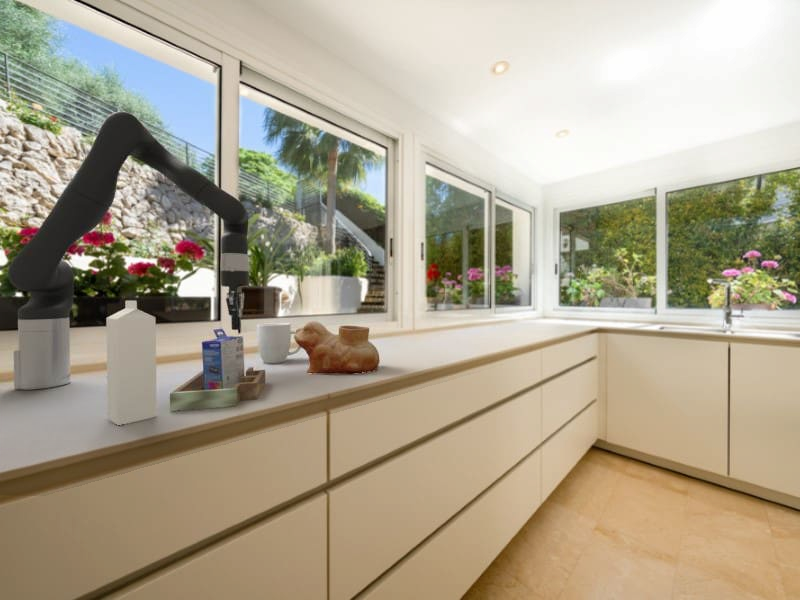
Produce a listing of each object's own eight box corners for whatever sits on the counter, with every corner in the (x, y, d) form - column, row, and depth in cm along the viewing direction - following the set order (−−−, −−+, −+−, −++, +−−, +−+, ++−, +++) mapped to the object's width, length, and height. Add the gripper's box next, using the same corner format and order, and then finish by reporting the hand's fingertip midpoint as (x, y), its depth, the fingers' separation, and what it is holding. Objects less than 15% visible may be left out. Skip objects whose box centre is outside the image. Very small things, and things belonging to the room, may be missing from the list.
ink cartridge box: (226, 381, 93) (225, 327, 93) (245, 381, 93) (245, 327, 92) (201, 391, 83) (200, 331, 83) (223, 392, 83) (222, 331, 82)
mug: (301, 357, 129) (300, 322, 129) (303, 362, 119) (303, 324, 118) (257, 360, 124) (257, 323, 124) (256, 366, 113) (256, 325, 113)
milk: (145, 411, 69) (144, 300, 69) (157, 417, 66) (156, 300, 66) (106, 419, 65) (105, 300, 64) (117, 426, 61) (116, 300, 61)
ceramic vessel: (302, 365, 115) (302, 319, 115) (381, 365, 114) (381, 319, 113) (287, 374, 101) (286, 323, 101) (377, 375, 100) (376, 322, 100)
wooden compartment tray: (170, 411, 69) (169, 393, 69) (204, 383, 91) (204, 369, 91) (254, 404, 73) (254, 387, 73) (267, 379, 95) (267, 366, 95)
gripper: (226, 271, 107) (227, 328, 107) (214, 268, 94) (216, 332, 94) (252, 271, 109) (253, 327, 109) (244, 268, 96) (246, 331, 96)
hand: (236, 329), depth 102 cm, fingers closed
